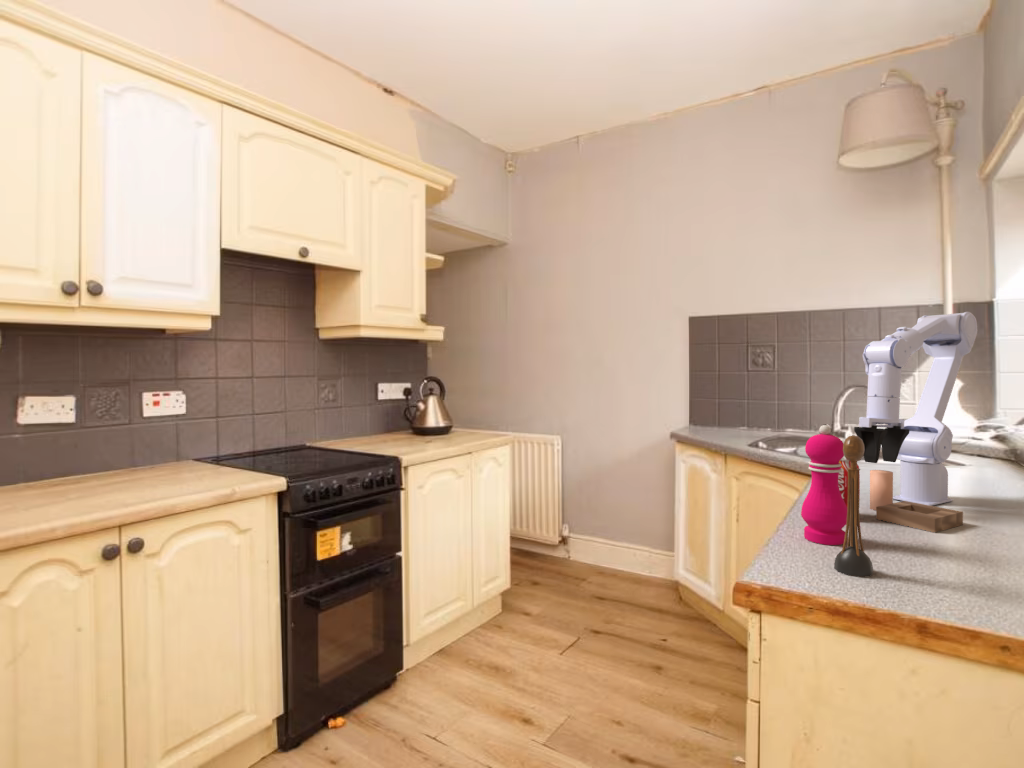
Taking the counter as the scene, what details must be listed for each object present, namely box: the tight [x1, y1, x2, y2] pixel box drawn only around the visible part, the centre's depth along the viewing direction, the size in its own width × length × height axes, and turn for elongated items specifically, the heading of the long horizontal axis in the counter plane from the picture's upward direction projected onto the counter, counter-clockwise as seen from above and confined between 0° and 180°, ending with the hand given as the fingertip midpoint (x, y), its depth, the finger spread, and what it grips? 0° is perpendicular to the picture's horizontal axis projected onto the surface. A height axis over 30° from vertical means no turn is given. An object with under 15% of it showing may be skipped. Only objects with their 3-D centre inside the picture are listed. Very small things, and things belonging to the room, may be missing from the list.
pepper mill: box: [800, 424, 847, 546], centre depth 95 cm, size 7×7×20 cm
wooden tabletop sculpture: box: [833, 435, 874, 578], centre depth 81 cm, size 6×5×20 cm
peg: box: [869, 469, 894, 511], centre depth 115 cm, size 4×4×8 cm
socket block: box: [875, 501, 964, 533], centre depth 105 cm, size 10×10×2 cm
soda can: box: [838, 456, 861, 506], centre depth 110 cm, size 7×7×12 cm
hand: (880, 462), depth 115 cm, fingers open, 7 cm apart
